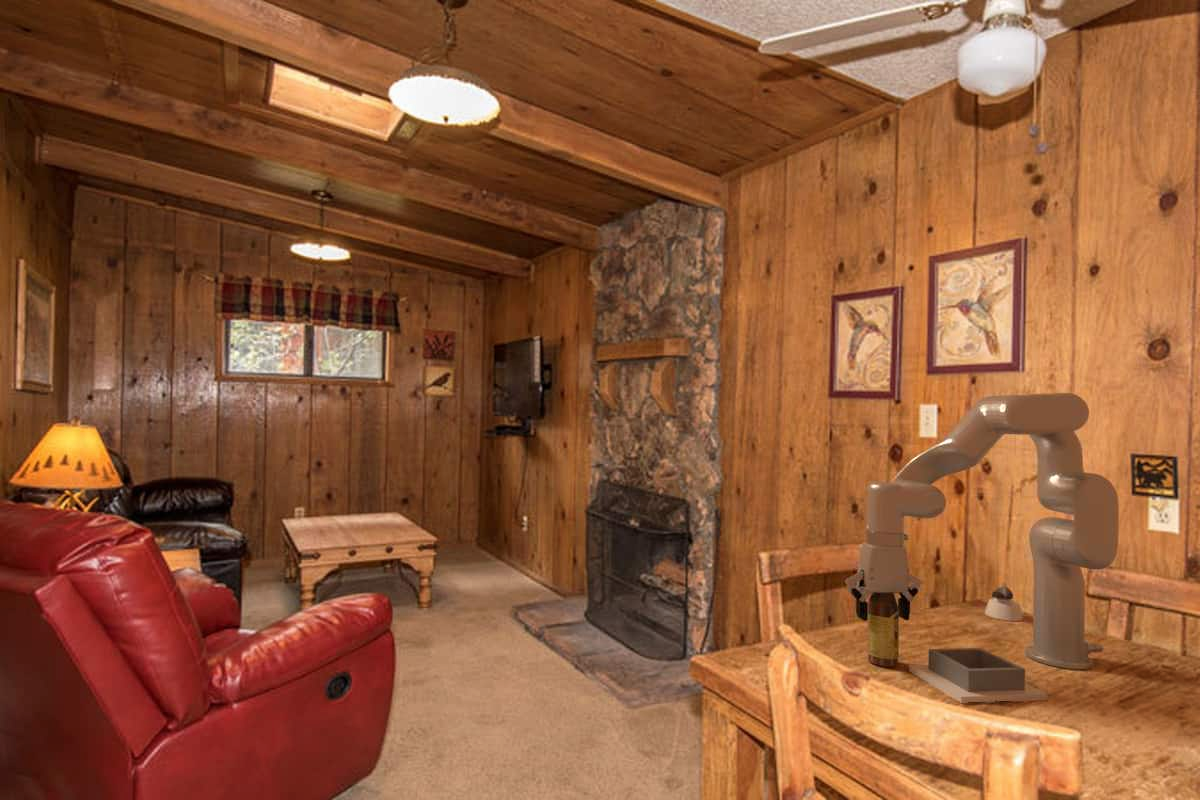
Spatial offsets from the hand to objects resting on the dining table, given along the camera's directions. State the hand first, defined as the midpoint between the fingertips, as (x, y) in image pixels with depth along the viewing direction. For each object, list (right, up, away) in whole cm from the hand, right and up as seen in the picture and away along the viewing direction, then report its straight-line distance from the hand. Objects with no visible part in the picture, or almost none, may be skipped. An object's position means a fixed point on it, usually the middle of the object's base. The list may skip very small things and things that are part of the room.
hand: (882, 618), depth 146 cm
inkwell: (+48, -12, +35) cm, 60 cm away
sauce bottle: (0, -10, 0) cm, 10 cm away
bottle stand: (+14, -10, -11) cm, 20 cm away
